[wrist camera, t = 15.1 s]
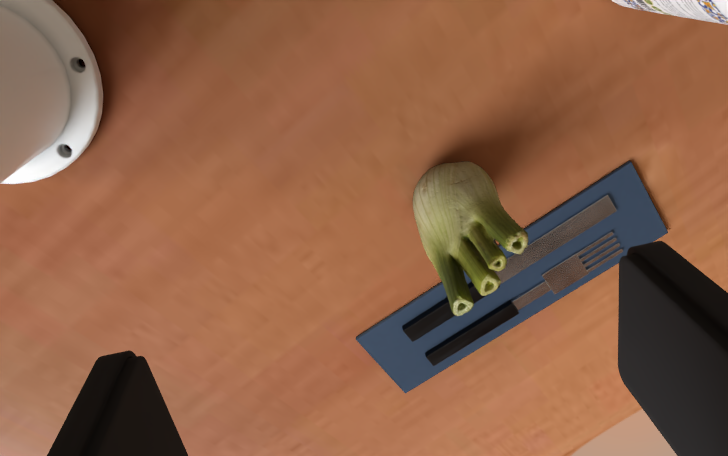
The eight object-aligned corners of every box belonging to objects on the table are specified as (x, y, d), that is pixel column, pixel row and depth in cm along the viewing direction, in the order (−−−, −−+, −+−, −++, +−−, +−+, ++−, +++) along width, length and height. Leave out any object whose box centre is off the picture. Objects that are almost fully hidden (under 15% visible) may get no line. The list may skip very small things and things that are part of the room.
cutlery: (435, 365, 47) (437, 371, 46) (400, 325, 45) (402, 330, 44) (634, 243, 44) (639, 247, 43) (606, 193, 42) (610, 197, 41)
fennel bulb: (421, 235, 42) (460, 332, 31) (390, 180, 40) (421, 264, 29) (493, 198, 41) (559, 284, 31) (466, 140, 39) (526, 210, 28)
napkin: (404, 391, 48) (405, 393, 48) (355, 337, 45) (355, 339, 45) (666, 230, 44) (668, 232, 44) (629, 160, 41) (631, 161, 41)
